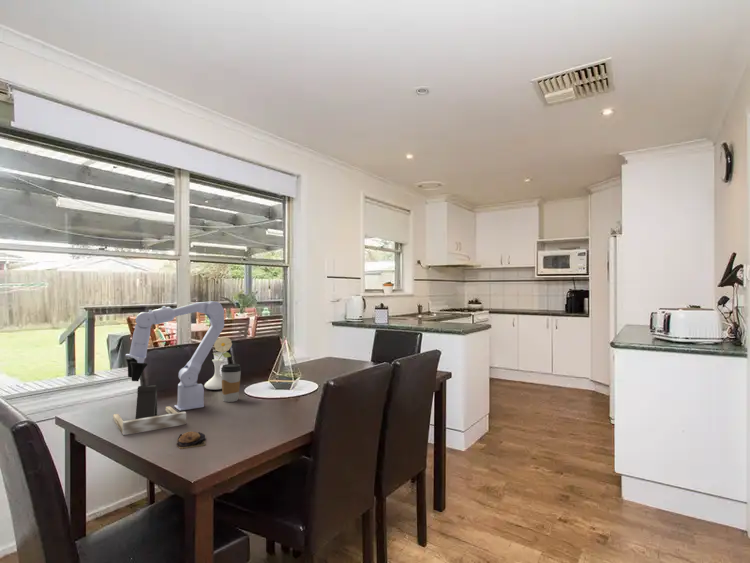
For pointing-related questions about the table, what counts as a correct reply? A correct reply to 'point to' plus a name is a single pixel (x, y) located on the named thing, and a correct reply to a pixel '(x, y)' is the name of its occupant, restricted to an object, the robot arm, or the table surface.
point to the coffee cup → (230, 382)
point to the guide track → (151, 422)
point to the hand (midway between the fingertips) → (133, 379)
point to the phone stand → (146, 401)
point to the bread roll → (191, 440)
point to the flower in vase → (219, 363)
